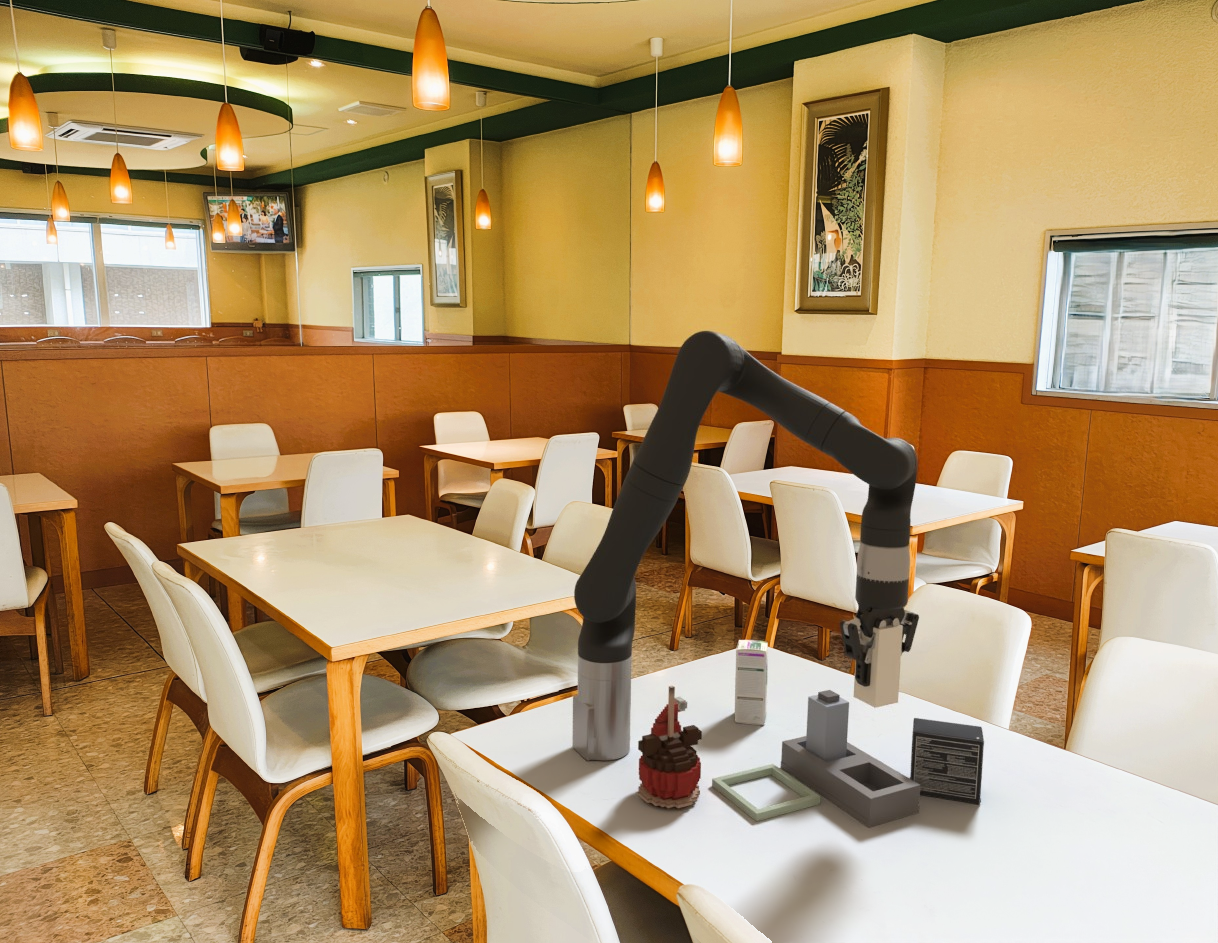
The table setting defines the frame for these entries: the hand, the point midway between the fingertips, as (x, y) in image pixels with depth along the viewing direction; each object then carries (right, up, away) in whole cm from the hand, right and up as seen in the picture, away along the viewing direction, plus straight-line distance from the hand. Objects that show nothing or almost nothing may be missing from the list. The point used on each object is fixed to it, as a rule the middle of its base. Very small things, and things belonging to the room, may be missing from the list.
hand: (876, 681), depth 137 cm
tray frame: (-16, -19, +5) cm, 25 cm away
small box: (+13, -19, +8) cm, 25 cm away
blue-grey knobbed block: (-5, -17, +12) cm, 21 cm away
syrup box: (-14, -15, +34) cm, 40 cm away
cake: (-31, -19, +4) cm, 37 cm away
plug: (0, -3, 0) cm, 3 cm away
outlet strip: (-3, -19, +7) cm, 20 cm away
